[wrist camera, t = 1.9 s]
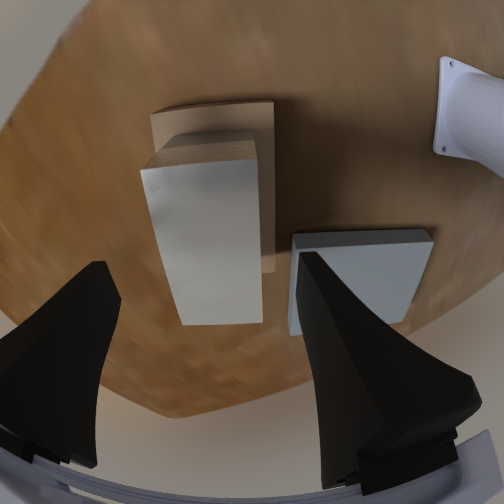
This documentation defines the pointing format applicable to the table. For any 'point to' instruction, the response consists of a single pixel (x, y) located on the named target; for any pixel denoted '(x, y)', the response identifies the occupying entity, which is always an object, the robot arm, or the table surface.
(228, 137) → the block
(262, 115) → the stand
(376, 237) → the stand
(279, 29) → the table surface
